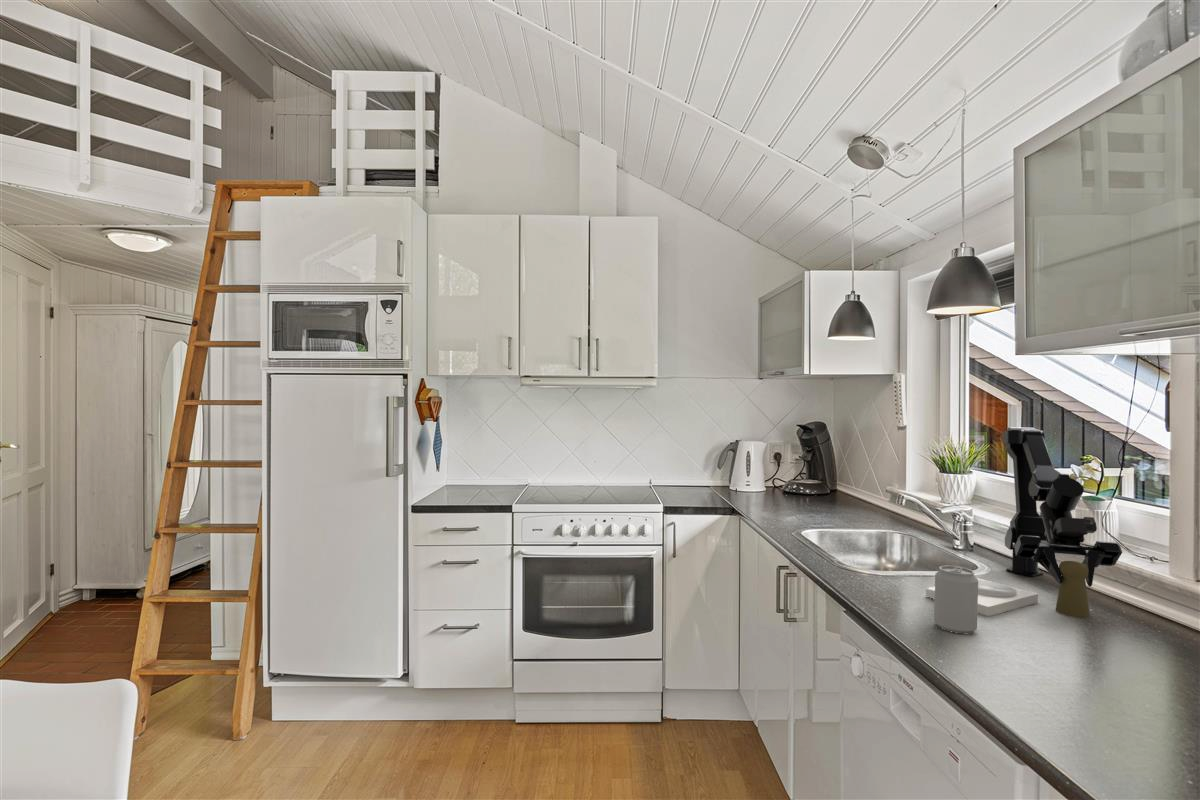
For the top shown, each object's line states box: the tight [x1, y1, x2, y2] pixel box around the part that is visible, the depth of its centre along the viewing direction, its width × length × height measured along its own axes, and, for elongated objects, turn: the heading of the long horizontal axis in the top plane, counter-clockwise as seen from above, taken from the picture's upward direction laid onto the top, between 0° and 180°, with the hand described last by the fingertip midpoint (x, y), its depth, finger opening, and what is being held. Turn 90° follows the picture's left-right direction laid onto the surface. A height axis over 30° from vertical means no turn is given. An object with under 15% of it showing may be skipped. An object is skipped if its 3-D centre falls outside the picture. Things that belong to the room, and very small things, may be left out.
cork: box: [1055, 560, 1091, 618], centre depth 135 cm, size 6×6×11 cm
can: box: [933, 565, 978, 634], centre depth 125 cm, size 8×8×12 cm
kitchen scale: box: [925, 577, 1039, 617], centre depth 143 cm, size 20×14×3 cm
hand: (1075, 584), depth 134 cm, fingers closed on cork, 5 cm apart
